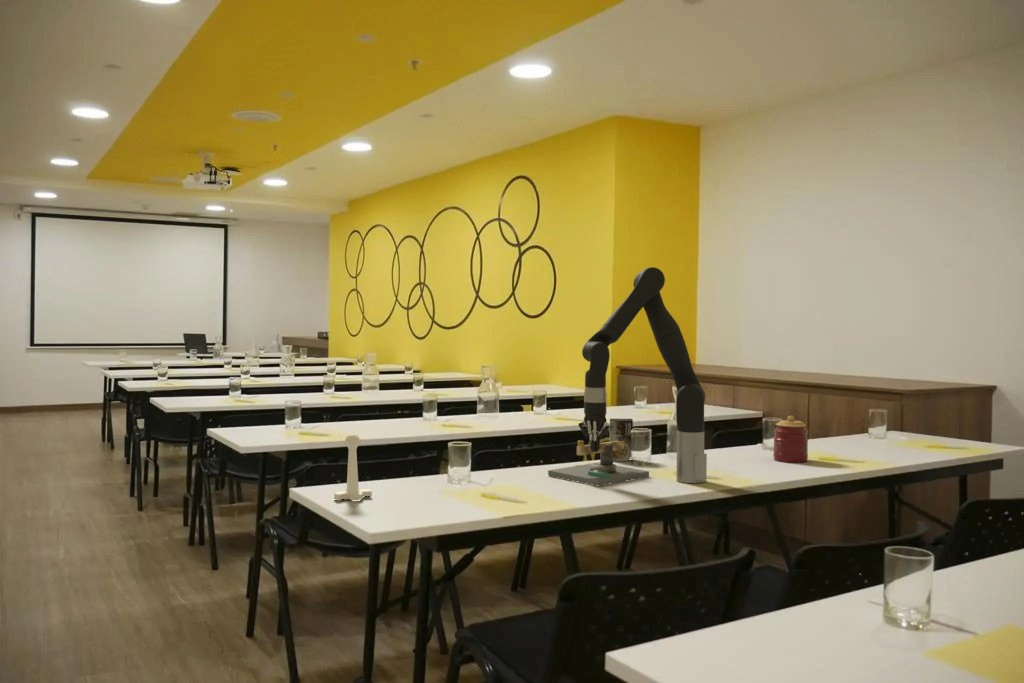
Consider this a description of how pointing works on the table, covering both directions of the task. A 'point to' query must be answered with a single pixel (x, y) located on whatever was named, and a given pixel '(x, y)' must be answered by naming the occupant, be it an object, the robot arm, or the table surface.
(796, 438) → the canister
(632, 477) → the board
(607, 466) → the wooden pivot lever
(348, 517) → the table surface
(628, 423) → the coffee box
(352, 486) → the joystick
